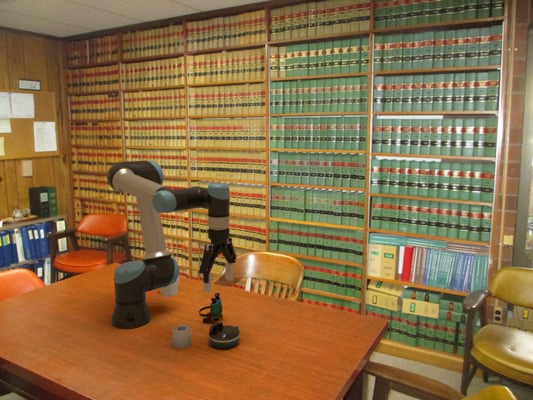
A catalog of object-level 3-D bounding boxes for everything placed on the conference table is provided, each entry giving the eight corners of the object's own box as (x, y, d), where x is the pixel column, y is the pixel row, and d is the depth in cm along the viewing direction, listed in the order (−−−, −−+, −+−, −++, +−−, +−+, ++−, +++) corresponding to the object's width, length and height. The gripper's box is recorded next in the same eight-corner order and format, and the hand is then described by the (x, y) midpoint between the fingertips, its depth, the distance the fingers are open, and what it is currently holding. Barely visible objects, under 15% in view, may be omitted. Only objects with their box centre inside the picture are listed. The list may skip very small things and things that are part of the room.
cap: (169, 346, 150) (168, 329, 149) (181, 338, 156) (180, 322, 155) (183, 350, 147) (182, 333, 146) (194, 343, 153) (194, 326, 152)
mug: (171, 297, 197) (171, 276, 195) (156, 294, 200) (155, 274, 198) (185, 288, 208) (185, 269, 206) (170, 286, 211) (170, 267, 209)
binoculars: (201, 292, 176) (224, 291, 174) (204, 316, 178) (226, 316, 175) (193, 299, 168) (217, 299, 166) (196, 325, 169) (220, 325, 167)
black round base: (202, 344, 151) (202, 330, 150) (220, 332, 161) (220, 319, 160) (228, 352, 146) (228, 337, 145) (245, 339, 155) (245, 325, 154)
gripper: (206, 236, 137) (206, 298, 140) (245, 222, 158) (245, 277, 162) (188, 233, 140) (188, 294, 143) (229, 220, 162) (228, 274, 165)
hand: (218, 285), depth 152 cm, fingers open, 13 cm apart
